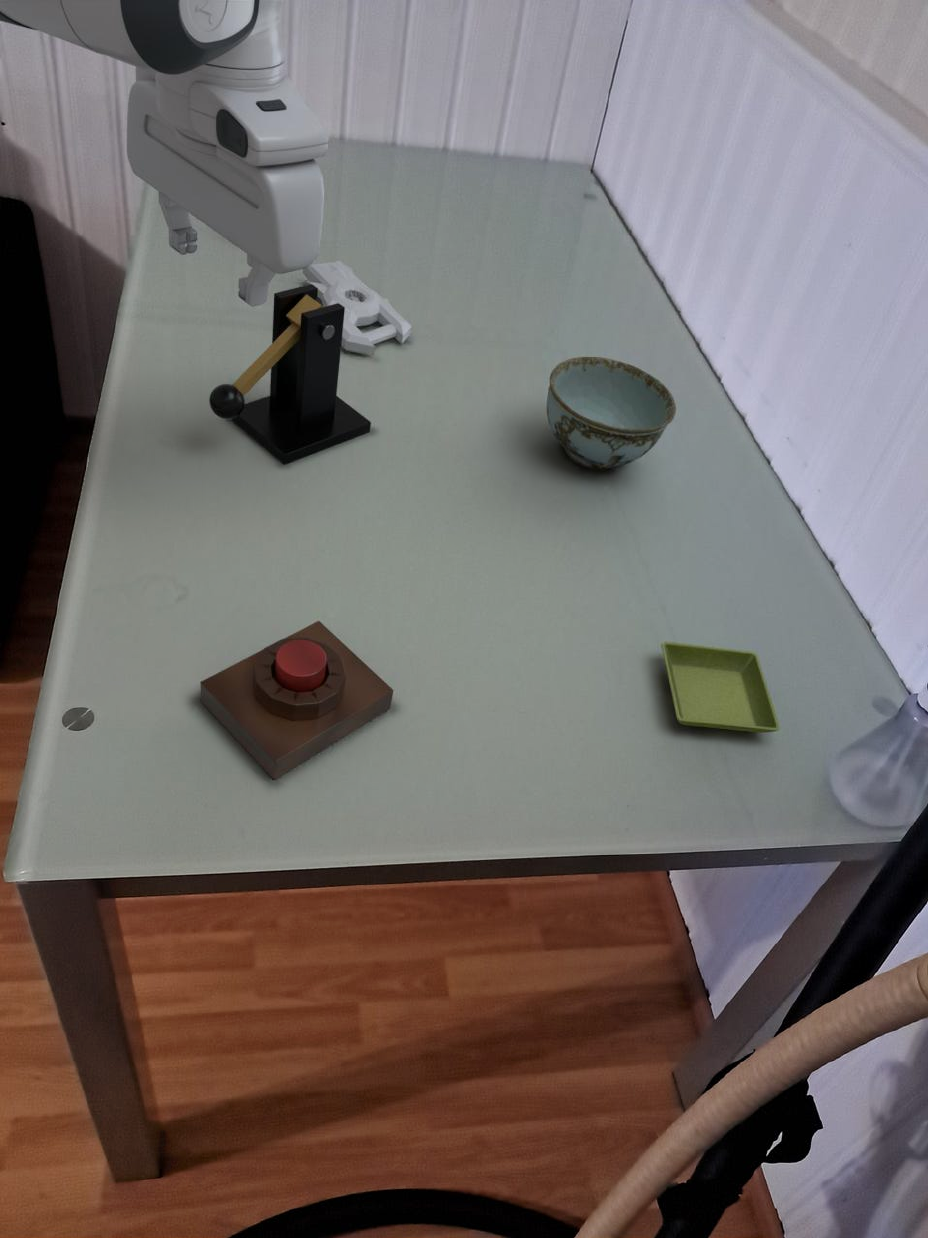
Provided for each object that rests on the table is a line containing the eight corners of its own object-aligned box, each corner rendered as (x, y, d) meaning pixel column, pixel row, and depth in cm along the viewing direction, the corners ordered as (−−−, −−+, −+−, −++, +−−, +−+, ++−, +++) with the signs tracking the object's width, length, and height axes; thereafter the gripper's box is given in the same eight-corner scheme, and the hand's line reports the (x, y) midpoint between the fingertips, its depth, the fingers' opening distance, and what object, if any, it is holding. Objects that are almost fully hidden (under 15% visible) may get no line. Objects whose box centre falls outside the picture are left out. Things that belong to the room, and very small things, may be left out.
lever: (233, 431, 90) (216, 413, 87) (213, 414, 91) (196, 395, 88) (335, 325, 91) (322, 304, 88) (314, 310, 92) (301, 288, 89)
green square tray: (669, 735, 77) (677, 719, 76) (653, 656, 83) (660, 640, 82) (770, 746, 78) (781, 731, 77) (747, 667, 85) (757, 651, 83)
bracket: (284, 464, 93) (292, 336, 84) (229, 418, 97) (231, 290, 87) (370, 431, 100) (386, 309, 90) (315, 389, 103) (325, 267, 94)
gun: (277, 258, 115) (347, 250, 120) (274, 285, 117) (344, 275, 123) (357, 341, 107) (429, 327, 112) (353, 367, 109) (424, 353, 115)
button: (295, 700, 68) (296, 684, 67) (264, 669, 70) (265, 653, 69) (334, 677, 71) (336, 661, 69) (304, 648, 72) (305, 632, 71)
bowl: (523, 412, 108) (540, 348, 102) (636, 424, 110) (658, 362, 105) (541, 487, 98) (560, 422, 93) (665, 498, 101) (691, 435, 95)
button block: (274, 780, 68) (276, 746, 65) (200, 701, 71) (199, 665, 69) (390, 708, 74) (396, 674, 71) (316, 639, 78) (320, 604, 75)
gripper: (99, 43, 71) (111, 227, 80) (272, 151, 63) (262, 342, 72) (173, 40, 75) (176, 216, 84) (345, 141, 67) (326, 323, 76)
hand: (217, 275), depth 78 cm, fingers open, 8 cm apart
